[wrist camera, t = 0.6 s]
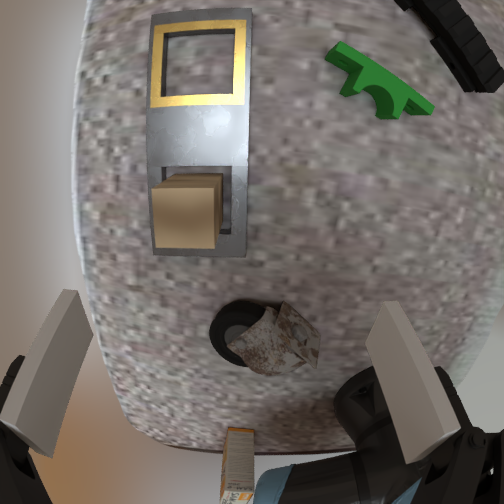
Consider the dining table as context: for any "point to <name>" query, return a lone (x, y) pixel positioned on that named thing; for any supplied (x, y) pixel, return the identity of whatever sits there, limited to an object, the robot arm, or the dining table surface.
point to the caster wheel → (264, 338)
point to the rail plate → (201, 119)
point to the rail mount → (460, 44)
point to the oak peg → (188, 210)
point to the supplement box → (237, 467)
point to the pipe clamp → (377, 84)
